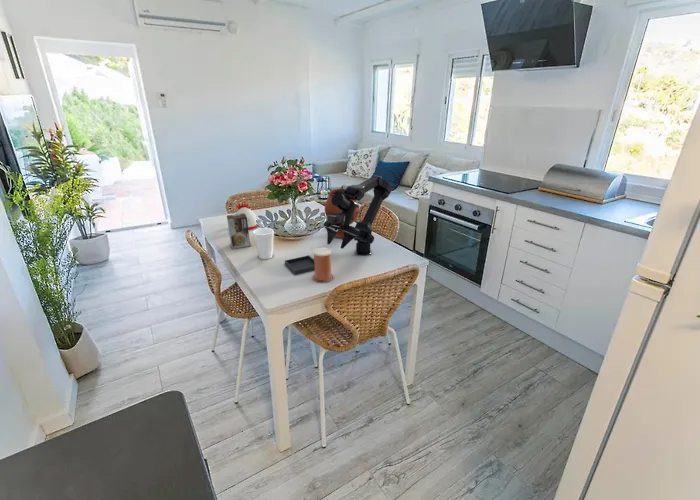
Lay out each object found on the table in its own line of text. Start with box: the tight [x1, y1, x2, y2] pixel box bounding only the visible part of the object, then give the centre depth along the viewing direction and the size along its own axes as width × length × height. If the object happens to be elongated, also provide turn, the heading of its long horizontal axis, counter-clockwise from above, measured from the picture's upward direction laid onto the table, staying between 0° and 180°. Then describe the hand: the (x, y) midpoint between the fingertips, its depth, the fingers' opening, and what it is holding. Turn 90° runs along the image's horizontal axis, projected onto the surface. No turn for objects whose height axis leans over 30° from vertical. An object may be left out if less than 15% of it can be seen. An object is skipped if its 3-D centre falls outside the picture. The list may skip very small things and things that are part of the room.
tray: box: [284, 254, 314, 276], centre depth 159 cm, size 12×12×2 cm
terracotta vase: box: [324, 188, 360, 239], centre depth 191 cm, size 19×19×25 cm
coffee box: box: [226, 213, 251, 250], centre depth 177 cm, size 9×6×16 cm
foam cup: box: [252, 227, 275, 260], centre depth 166 cm, size 10×9×13 cm
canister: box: [312, 247, 332, 280], centre depth 147 cm, size 7×7×12 cm
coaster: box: [312, 274, 333, 283], centre depth 149 cm, size 8×8×1 cm
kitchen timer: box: [235, 202, 259, 231], centre depth 204 cm, size 14×14×15 cm
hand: (334, 246), depth 154 cm, fingers open, 9 cm apart
